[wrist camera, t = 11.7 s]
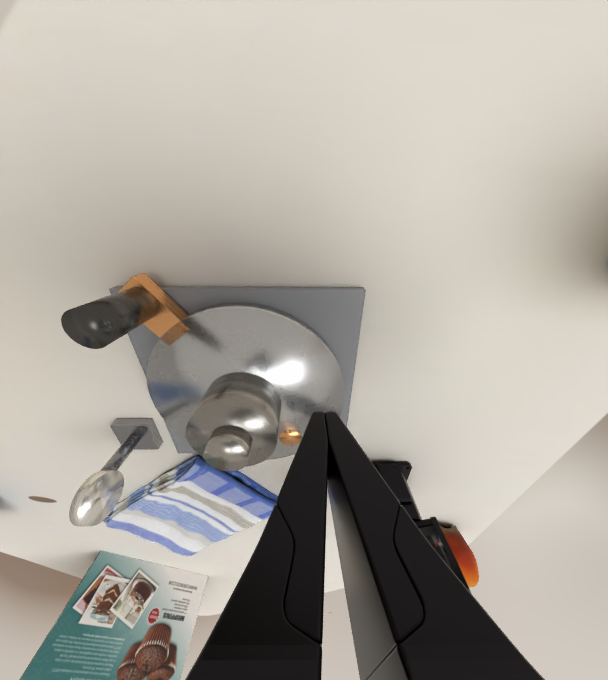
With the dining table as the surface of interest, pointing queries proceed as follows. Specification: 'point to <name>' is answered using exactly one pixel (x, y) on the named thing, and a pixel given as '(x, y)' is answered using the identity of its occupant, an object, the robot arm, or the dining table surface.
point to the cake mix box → (122, 624)
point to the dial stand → (112, 472)
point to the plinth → (300, 302)
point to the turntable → (217, 353)
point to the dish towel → (192, 507)
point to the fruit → (462, 555)
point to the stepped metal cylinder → (236, 422)
